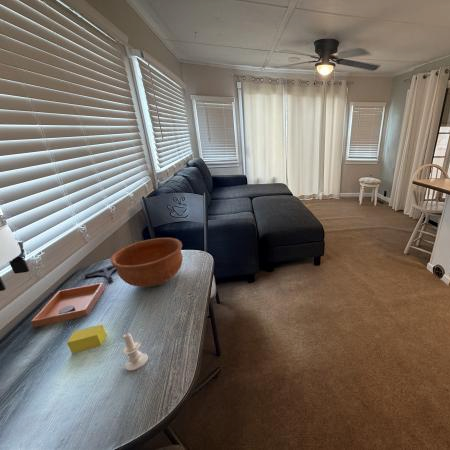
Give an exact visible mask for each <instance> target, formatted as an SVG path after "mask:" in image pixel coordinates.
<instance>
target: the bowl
mask: <svg viewBox="0 0 450 450" xmlns="http://www.w3.org/2000/svg"><path fill="white" fill-rule="evenodd" d="M182 248H183V243H182V240H179V239H178V238H173V237H156V238H150V239H145V240H141V241H138V242H134V243H132V244H129V245H127V246H125V247H123V248H121V249H119V250H117V251H116V252H115V253H113V255H112V256H111V257H110V259H109V262H110V263H111V266H112V265H114V266H115V267H116V273H117V276H118V277H119V278H120V279H121V281H123V282H125V283H126V284H128V285H130V286H132V287H133V286H134V287H137V288H149V287H159V286H161V285H163V284H165V283H166V282H167V281H169V280H170V279H172V277H174V276H175V275H176V274H178V272H179V270H181V267H182V264H183V263H182V262H183V253H182Z"/></svg>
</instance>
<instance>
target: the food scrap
mask: <svg viewBox="0 0 450 450" xmlns="http://www.w3.org/2000/svg"><path fill="white" fill-rule="evenodd" d="M72 311H76V309H75V307H74V306H73V305H70V306H66V307H64V308H62V309H61V310H59V314H63V313H68V312H72Z"/></svg>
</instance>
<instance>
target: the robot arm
mask: <svg viewBox="0 0 450 450" xmlns="http://www.w3.org/2000/svg"><path fill="white" fill-rule="evenodd" d="M8 263H9V265H10V267H11V270H12V273H14V274H22V273H28V272H29V271H30V268H29V266H28V263H27V261H26V255H25V249H24V243H23V241H19V240H17V238H16V236H15V234H14V233H13V231H12V229H11V228H10V226H9V225H8V222H7V219H6V218H5V215H4V212H3V211H2V209H1V207H0V268H2V267H4V266H5V265H6V264H8ZM6 289H7V288H6V285H5V283H4V281H3V278H2V277H1V276H0V292H3V291H5V290H6Z"/></svg>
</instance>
